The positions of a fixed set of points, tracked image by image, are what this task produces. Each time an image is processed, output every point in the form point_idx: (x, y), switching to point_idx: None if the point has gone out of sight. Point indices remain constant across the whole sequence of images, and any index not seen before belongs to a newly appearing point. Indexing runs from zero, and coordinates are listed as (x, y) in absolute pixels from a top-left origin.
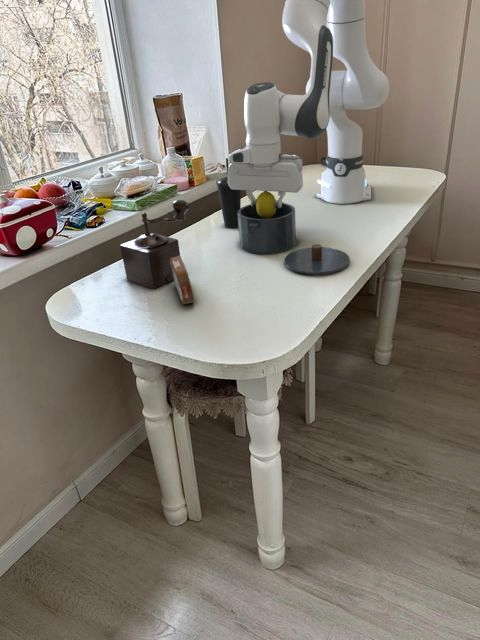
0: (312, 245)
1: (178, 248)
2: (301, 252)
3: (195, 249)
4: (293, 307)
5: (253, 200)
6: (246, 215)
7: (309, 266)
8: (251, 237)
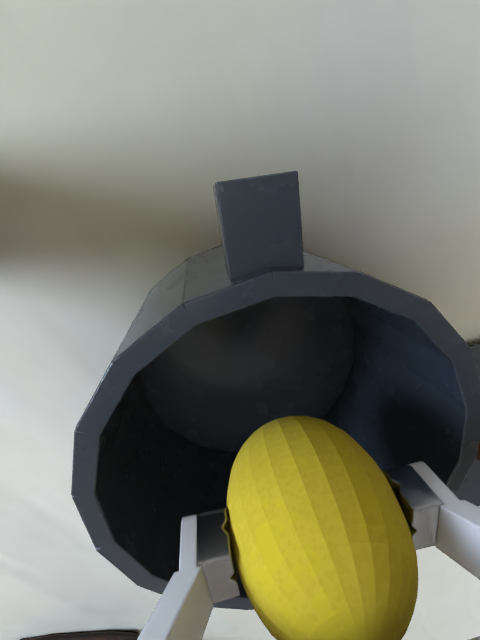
0: None
1: None
2: None
3: (13, 515)
4: (451, 602)
5: (219, 601)
6: (114, 431)
7: (463, 484)
8: None
